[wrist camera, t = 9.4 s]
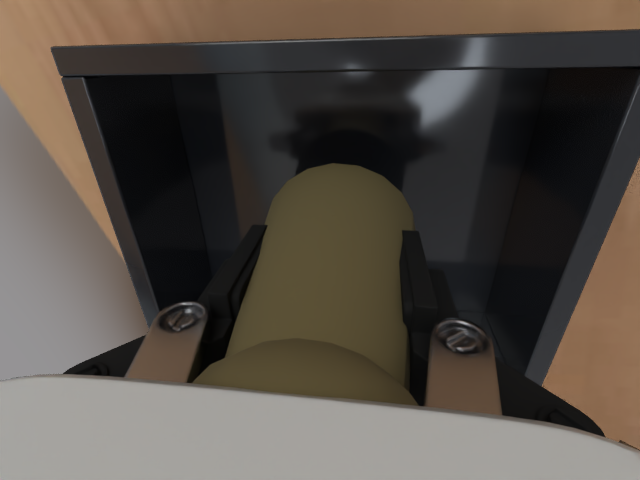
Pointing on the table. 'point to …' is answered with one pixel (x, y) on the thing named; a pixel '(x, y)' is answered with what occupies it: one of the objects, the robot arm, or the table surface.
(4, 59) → the table surface
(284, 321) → the olive pawn
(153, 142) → the open box
